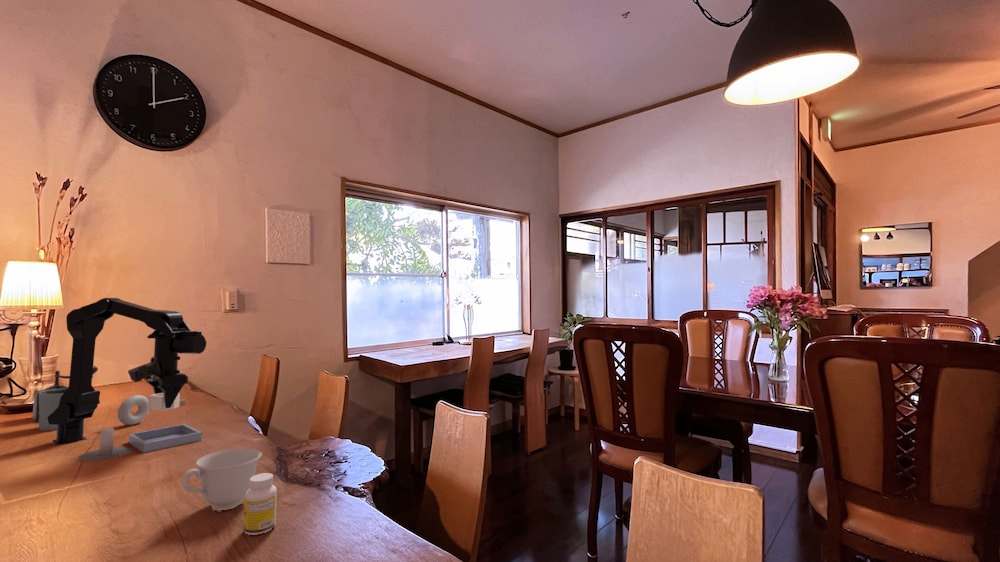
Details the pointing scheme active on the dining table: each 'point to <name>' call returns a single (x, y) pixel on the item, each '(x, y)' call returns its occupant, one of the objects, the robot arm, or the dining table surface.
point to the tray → (164, 437)
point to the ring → (162, 402)
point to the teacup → (224, 476)
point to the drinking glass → (48, 407)
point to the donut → (127, 405)
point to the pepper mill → (56, 386)
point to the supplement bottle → (260, 504)
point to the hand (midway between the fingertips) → (163, 406)
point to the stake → (105, 448)
